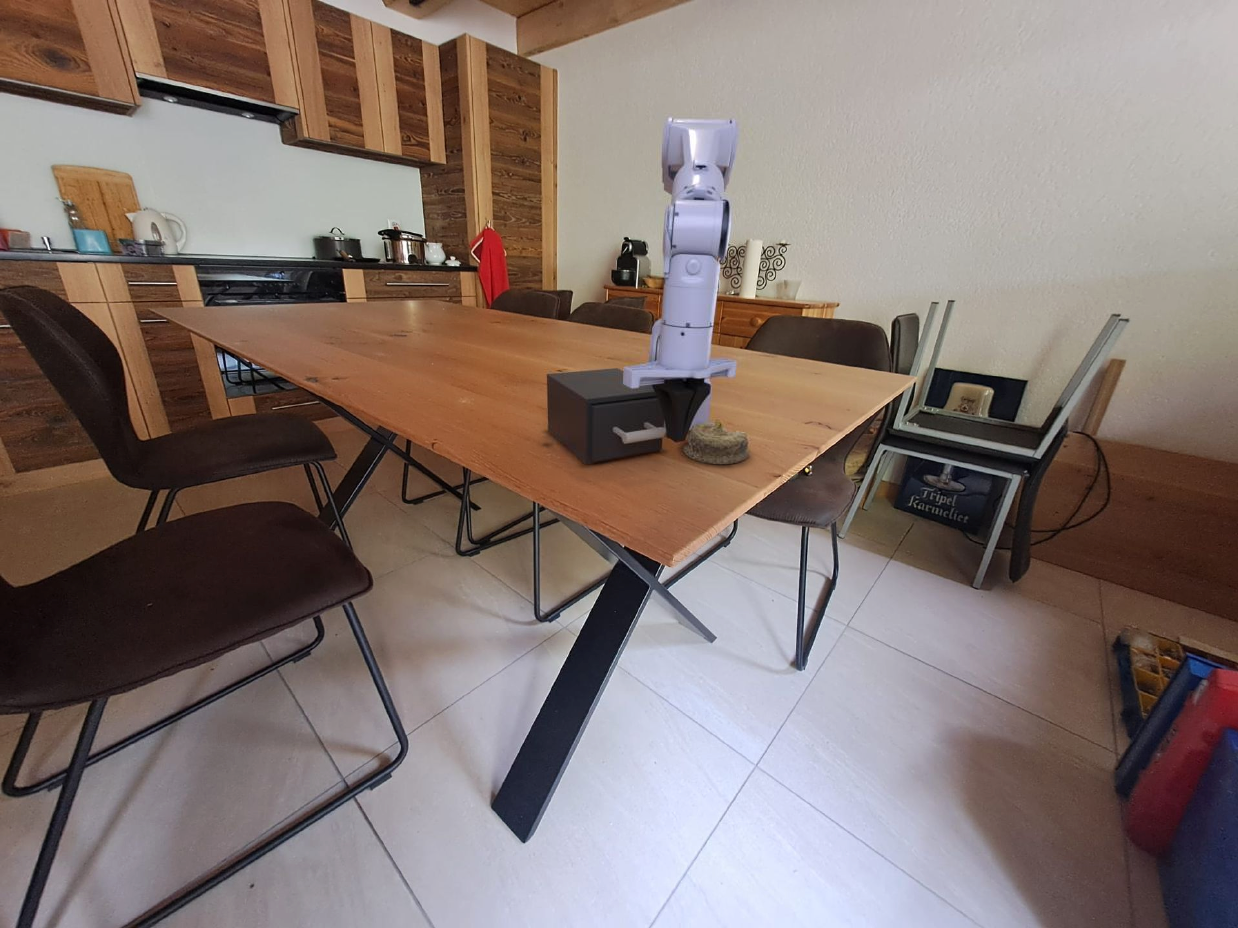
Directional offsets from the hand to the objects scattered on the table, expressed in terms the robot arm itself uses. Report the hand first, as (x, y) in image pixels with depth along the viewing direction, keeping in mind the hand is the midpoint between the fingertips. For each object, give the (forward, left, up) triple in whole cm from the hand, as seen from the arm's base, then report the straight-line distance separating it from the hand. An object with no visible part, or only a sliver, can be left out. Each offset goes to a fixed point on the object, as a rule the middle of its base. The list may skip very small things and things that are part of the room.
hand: (675, 439), depth 57 cm
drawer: (+1, -15, -6) cm, 16 cm away
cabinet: (+1, -18, -7) cm, 20 cm away
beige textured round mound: (-13, -7, -7) cm, 17 cm away
